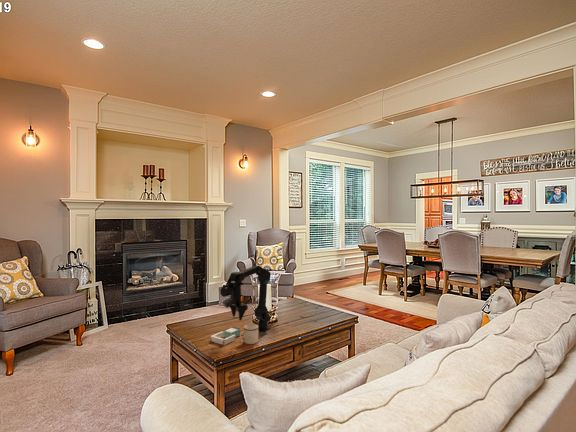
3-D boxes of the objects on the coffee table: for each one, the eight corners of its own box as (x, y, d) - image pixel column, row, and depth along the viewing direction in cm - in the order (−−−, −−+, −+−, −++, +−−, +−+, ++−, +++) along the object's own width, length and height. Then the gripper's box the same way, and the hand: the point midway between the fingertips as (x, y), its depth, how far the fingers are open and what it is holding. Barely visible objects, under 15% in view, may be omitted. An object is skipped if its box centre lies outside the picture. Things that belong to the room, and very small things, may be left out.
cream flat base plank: (222, 336, 209) (222, 331, 209) (235, 339, 203) (235, 335, 203) (210, 341, 201) (210, 336, 201) (224, 345, 195) (224, 340, 195)
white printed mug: (254, 337, 206) (254, 319, 206) (261, 342, 199) (261, 323, 199) (236, 341, 200) (236, 322, 200) (243, 346, 192) (243, 326, 192)
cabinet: (233, 333, 214) (233, 325, 214) (240, 335, 210) (240, 327, 210) (224, 337, 207) (224, 329, 207) (231, 339, 204) (231, 331, 204)
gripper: (218, 292, 205) (218, 316, 206) (230, 298, 190) (231, 325, 190) (234, 289, 212) (235, 313, 212) (247, 295, 196) (248, 321, 197)
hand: (237, 318), depth 202 cm, fingers open, 9 cm apart
